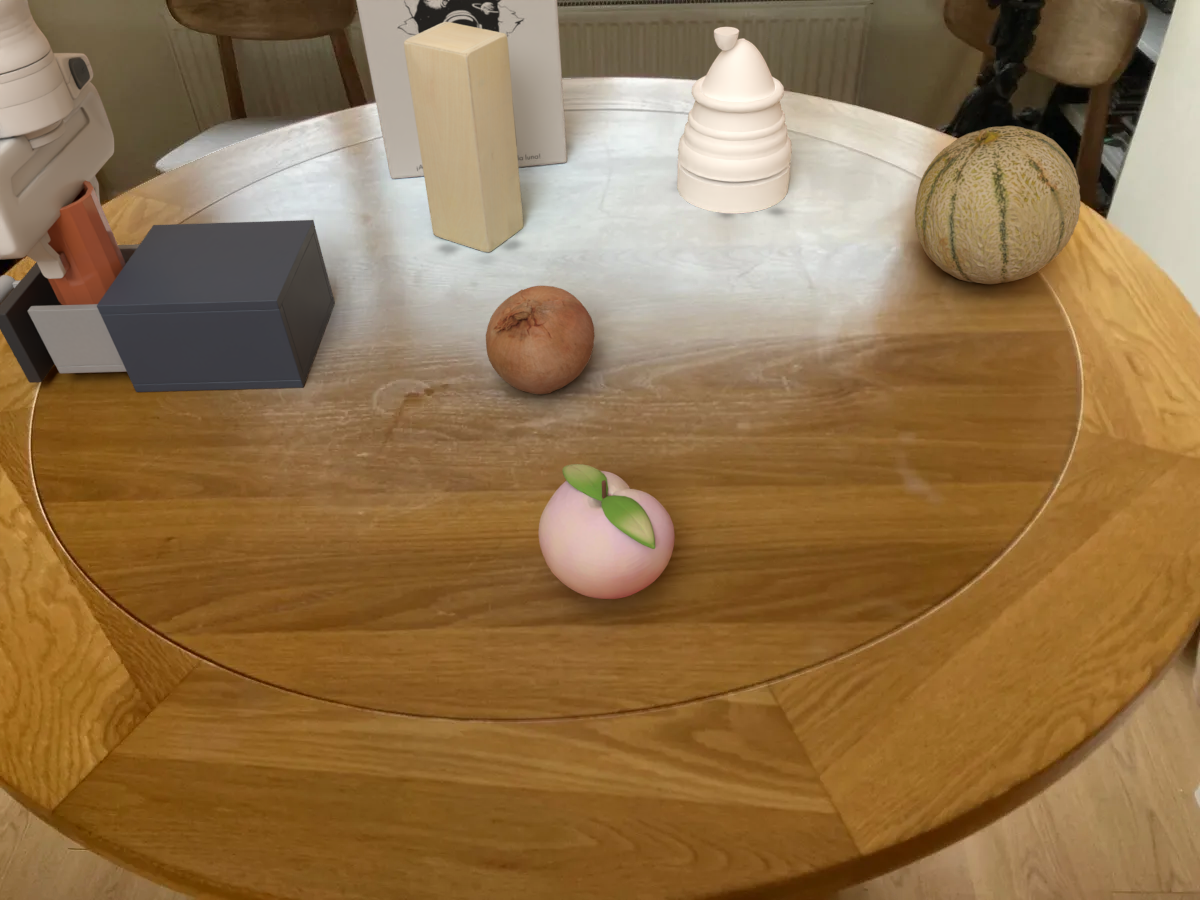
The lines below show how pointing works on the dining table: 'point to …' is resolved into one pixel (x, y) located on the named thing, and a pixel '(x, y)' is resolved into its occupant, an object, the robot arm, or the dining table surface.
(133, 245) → the drawer
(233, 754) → the dining table surface
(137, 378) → the cabinet
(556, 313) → the onion
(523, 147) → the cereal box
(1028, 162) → the cantaloupe
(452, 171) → the tall wooden block
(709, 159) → the honey pot
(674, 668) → the dining table surface
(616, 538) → the decorative fruit
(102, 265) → the cup
